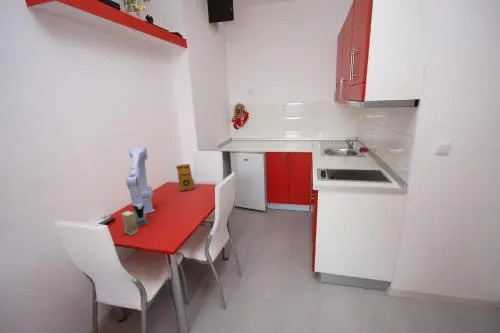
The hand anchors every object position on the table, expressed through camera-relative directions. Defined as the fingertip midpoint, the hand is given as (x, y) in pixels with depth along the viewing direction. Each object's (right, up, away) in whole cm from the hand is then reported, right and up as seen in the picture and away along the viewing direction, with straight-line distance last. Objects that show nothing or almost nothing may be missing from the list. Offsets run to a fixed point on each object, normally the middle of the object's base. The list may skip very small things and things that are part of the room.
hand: (139, 216), depth 149 cm
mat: (0, -4, +1) cm, 4 cm away
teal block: (0, -2, 0) cm, 2 cm away
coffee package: (+14, +11, +57) cm, 60 cm away
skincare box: (0, -7, -10) cm, 13 cm away
